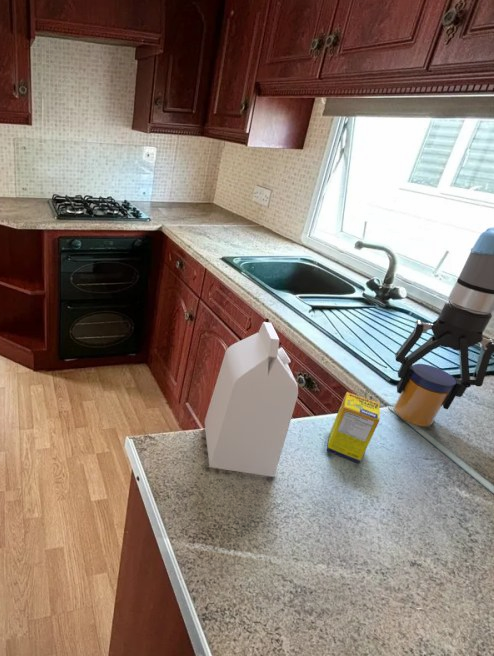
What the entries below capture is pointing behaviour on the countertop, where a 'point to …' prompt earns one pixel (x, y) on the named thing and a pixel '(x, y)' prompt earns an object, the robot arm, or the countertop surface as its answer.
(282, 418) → the milk
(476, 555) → the countertop surface
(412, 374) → the lid
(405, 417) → the jar
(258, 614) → the countertop surface
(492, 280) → the robot arm
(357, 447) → the supplement box
